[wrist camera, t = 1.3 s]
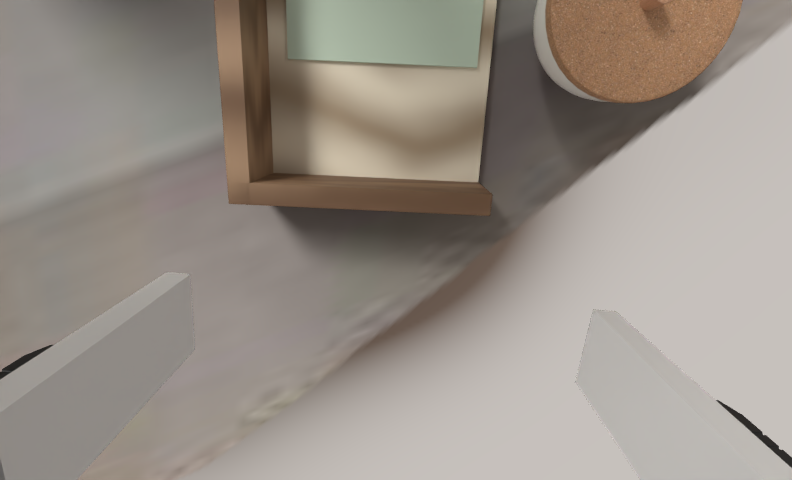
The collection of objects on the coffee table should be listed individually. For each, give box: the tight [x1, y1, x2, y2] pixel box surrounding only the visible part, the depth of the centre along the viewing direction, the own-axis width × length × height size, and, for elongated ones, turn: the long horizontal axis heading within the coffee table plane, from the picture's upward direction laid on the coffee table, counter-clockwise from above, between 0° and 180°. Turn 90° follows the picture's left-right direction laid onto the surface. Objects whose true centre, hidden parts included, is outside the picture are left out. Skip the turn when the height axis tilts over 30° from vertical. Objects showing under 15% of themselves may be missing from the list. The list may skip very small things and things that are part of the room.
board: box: [266, 0, 497, 182], centre depth 30 cm, size 26×18×1 cm
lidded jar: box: [533, 0, 743, 103], centre depth 26 cm, size 11×11×9 cm
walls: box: [214, 0, 492, 216], centre depth 27 cm, size 26×18×6 cm
